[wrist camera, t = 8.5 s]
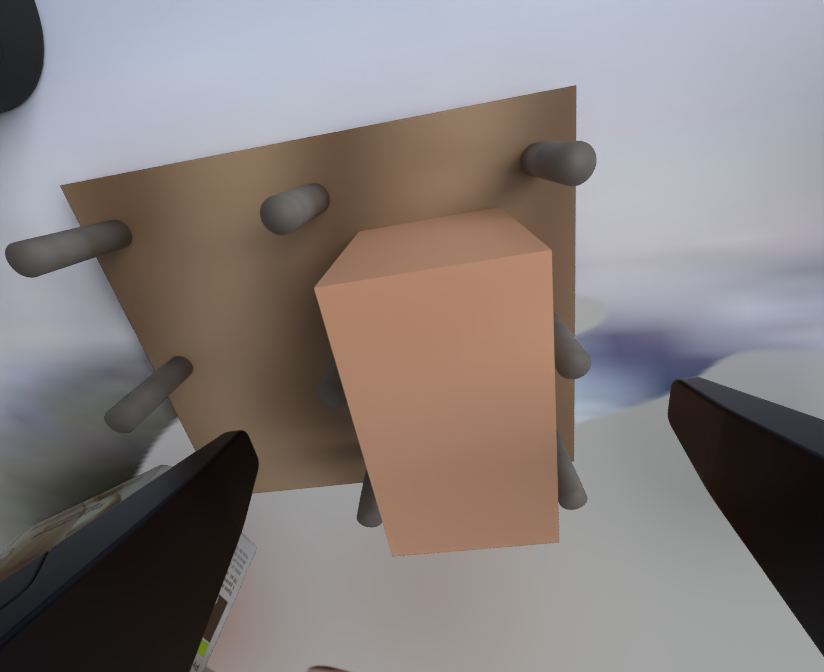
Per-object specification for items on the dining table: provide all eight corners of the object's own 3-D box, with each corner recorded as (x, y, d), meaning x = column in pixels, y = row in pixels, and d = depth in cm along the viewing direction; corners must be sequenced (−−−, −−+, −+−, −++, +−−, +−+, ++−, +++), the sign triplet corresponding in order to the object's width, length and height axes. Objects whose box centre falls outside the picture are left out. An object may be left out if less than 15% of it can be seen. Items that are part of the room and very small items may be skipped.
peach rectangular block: (500, 207, 11) (552, 249, 6) (516, 413, 14) (559, 542, 9) (359, 231, 11) (314, 287, 7) (403, 426, 14) (392, 556, 10)
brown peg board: (563, 90, 11) (634, 61, 7) (565, 443, 16) (606, 532, 12) (87, 182, 12) (-59, 198, 8) (229, 478, 17) (176, 567, 13)
